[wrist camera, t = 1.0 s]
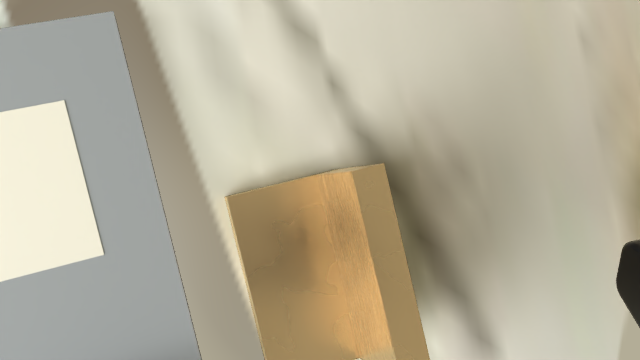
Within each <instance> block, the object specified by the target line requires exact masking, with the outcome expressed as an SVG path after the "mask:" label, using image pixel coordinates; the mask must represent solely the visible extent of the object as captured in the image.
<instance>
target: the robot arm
mask: <svg viewBox="0 0 640 360" xmlns="http://www.w3.org/2000/svg"><path fill="white" fill-rule="evenodd" d="M616 284H617V289H618V292H619V294H620V296H621V298H622V299H623V301H624V303H625V304H626V306H627V308H628V309H629V311H630V313H631V314H632V316H633V318H634V319H635V321H636V323H637V324H638V326H639V328H640V240H635V241H631V242H628V243H626V244H625V245H624V247H623V249H622V253H621V258H620V263H619V268H618V273H617V278H616Z"/></svg>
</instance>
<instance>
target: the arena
mask: <svg viewBox="0 0 640 360" xmlns="http://www.w3.org/2000/svg"><path fill="white" fill-rule="evenodd" d="M0 360H202V358H201V354H200V351H199V346H198V343H197V339H196V335H195V331H194V327H193V323H192V319H191V315H190V311H189V307H188V303H187V299H186V295H185V291H184V287H183V283H182V279H181V275H180V272H179V267H178V264H177V260H176V256H175V252H174V248H173V244H172V240H171V236H170V232H169V228H168V224H167V220H166V216H165V212H164V208H163V204H162V200H161V196H160V192H159V188H158V184H157V180H156V176H155V172H154V168H153V164H152V160H151V157H150V152H149V148H148V145H147V141H146V136H145V133H144V129H143V125H142V121H141V117H140V113H139V109H138V105H137V101H136V97H135V93H134V89H133V85H132V81H131V77H130V73H129V69H128V66H127V61H126V57H125V53H124V49H123V46H122V41H121V37H120V34H119V30H118V26H117V22H116V18H115V15H114V12H112V11H111V12H105V13H98V14H92V15H86V16H79V17H73V18H66V19H59V20H53V21H46V22H40V23H33V24H26V25H20V26H13V27H7V28H0Z"/></svg>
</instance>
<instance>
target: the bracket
mask: <svg viewBox="0 0 640 360" xmlns="http://www.w3.org/2000/svg"><path fill="white" fill-rule="evenodd" d="M225 201H226V205H227V209H228V213H229V217H230V221H231V225H232V229H233V233H234V237H235V242H236V246H237V250H238V254H239V258H240V262H241V266H242V270H243V274H244V278H245V282H246V286H247V290H248V294H249V298H250V302H251V306H252V310H253V314H254V318H255V322H256V326H257V331H258V335H259V339H260V344H261V348H262V352H263V356H264V360H354V359H357V358H360V359H361V360H430V358H429V354H428V349H427V345H426V341H425V336H424V332H423V328H422V324H421V319H420V315H419V311H418V306H417V302H416V298H415V294H414V289H413V285H412V281H411V276H410V272H409V268H408V264H407V259H406V255H405V251H404V246H403V242H402V238H401V234H400V229H399V225H398V221H397V216H396V212H395V208H394V204H393V199H392V195H391V191H390V186H389V182H388V178H387V174H386V169H385V165H384V163H382V164H374V165H366V166H358V167H350V168H342V169H335V170H331V171H327V172H323V173H318V174H314V175H310V176H306V177H302V178H298V179H294V180H290V181H286V182H282V183H278V184H274V185H270V186H266V187H262V188H258V189H254V190H250V191H246V192H242V193H238V194H234V195H230V196H226V197H225Z"/></svg>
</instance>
